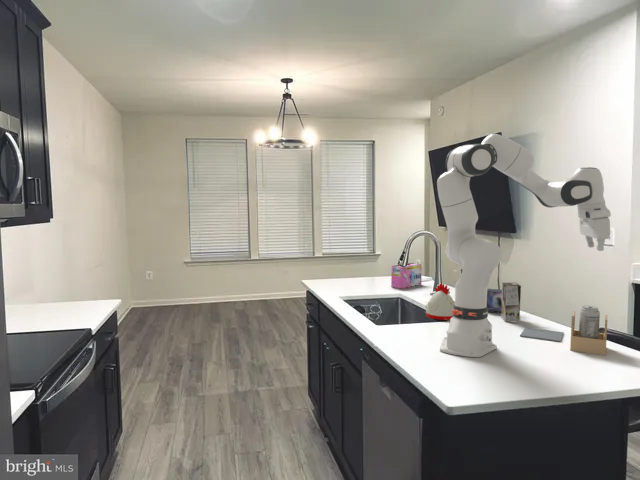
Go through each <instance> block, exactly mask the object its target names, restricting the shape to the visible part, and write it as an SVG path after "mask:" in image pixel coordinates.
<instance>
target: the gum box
mask: <svg viewBox="0 0 640 480" xmlns="http://www.w3.org/2000/svg"><path fill="white" fill-rule="evenodd" d="M406 264H407V266H406V267H400V266H399V265H400V264H396V265H391V283H390V287H391V288H392V287H395V288H394V289H399V288H401V289H402V288H403V289H407V288H406V287H408V288H411V286H412V287H416V286H415V285H417V286H421V285H422V263H420V264H417V263H414V262H411V263H410V262H409V263H406ZM420 284H421V285H420ZM401 289H400V290H401Z"/></svg>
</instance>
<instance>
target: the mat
mask: <svg viewBox="0 0 640 480" xmlns="http://www.w3.org/2000/svg"><path fill="white" fill-rule="evenodd" d="M563 336H564V332H563V331H557V330H556V331H555V330H550V329H541V328H534V327H533V328H532V327H524V329H523V330H522V332H521V333H520V335H519V337H521V338H527V339H528V338H529V339H534V340H542V341H543V340H544V341H550V342H556V343H557V342H558V343H561V342H562V339H563Z"/></svg>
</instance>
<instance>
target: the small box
mask: <svg viewBox="0 0 640 480" xmlns="http://www.w3.org/2000/svg"><path fill="white" fill-rule="evenodd" d="M501 306H502V289H497V288H488V289H487V307H488V313H493V314H501Z"/></svg>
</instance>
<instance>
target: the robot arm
mask: <svg viewBox="0 0 640 480" xmlns="http://www.w3.org/2000/svg"><path fill="white" fill-rule="evenodd" d="M533 165H534V156H533V154H532V152H531V151H530V150H529V149H527V148H526V147H525V146H523V145H522V144H520V143H518V142H516V141H514V140H513V139H510V138H508V137H507V136H504V135H501V134H499V133H490V134H489V135H487V136H486V137H485V138H484V139H483V140H482V141H481V143H474V144H473V143H472V144H468V143H467V144H464V145H461V146H456V147H455V148H453V149H452V150H450V151H449V152H448V154H447V155H446V158H445V167H444V172H443V173H442V174H440V175H439V177H438V178H437V181H436V186H437V195H438V199H439V203H440V206H441V210H442V214H443V217H444V220H445V221H444V222H445V224H446V231H447V243H446V246H445V256H446V258H447V259H448V260H449V261H450V262H452V263H453V264H455V265H456V266H457V265H458V266H461V267H462V271H461V274H460V277H459V279H458V280H457V281H456V282H455V285H454V301H455V304H454V307H453V311H452V315H453V317H452V318H451V319H450V320H449V321H450V322H449V326H448V329H447V331H446V336H445V337H443V339H442V342H441V345H440V348H439V351H440V352H443V353H445V354H449V355H455V356H462V357H469V358H481V357H482V358H483V357H484V356H485V355H487V354H489V353H491V352H493V351H494V350H496V349H497V348H498V347H497V346H498V345H497V344H496V343H494V342H493V325H492V323H491V322H490V321H489V319H488V316H489V312H488V307H487V289H489V288H488V286H489V283H490V279H491V276H492V273H493V271H494V270H495V268H497V267H498V266H499V264H500V263H501V260H502V258H503V257H502V255H503V254H502V253H503V252H502V250H501V248H500V247H501V246H499V245H498V244H497V243H495V242H493V241H492V240H490V239H486V238H480V237H479V238H478V237H477V234H476V224H477V223H478V222H479V221H478V220H479V215H478V212H477V208H476V204H475V201H474V198H473V195H472V191H471V189H470V188H471V187H470V181H471V177H479V176H482V175H484V174H486V173H487V172H488V171H490V169H492V168H494V169H496V170H497V171H499V172H500V173H503V174H504V175H505V176H508V177H510V178H511V179H512V180H514V181H515V182H516V183H518V184H519V185H520V186H522V187H523V188H525V189H526V190H528V191H529V192H530V193H532V194H533V195H534V196H535V198H536V199H537V200H538V202H539V203H540V204H541V205H542V206H544V207H546V208H557V207H560V208H561V207H575V206H577V215H578V218H579V219H578V221H579V231H580V234H581V235H583V236H585V237H584V238H585V240H586V243H587V247H588V248H594V247H595V242H594V240H593V239H596V243H597V245H596V250H597V251H599V252H602V251H603V252H604V250H605V247H604V246H605V240H609V239H610V237H611V222H610V221H611V220H610V217H611V216H612V214H611V213H612V212H611V211H610V209H608V207H607V206H606V200H605V197H604V193H605V187H604V186H605V185H604V181H603V179H604V178H603V175H602V172H601V170H600V169H599V168H597V167H593V166H592V167H589V166H588V167H580V168H576V169H575V171H574V172H573V173H572V174H571V175H570V176H568V177H566V178H565V179H562V180H547V179H544V178H543V177H541V176H540V175H539V174H537V173H536V172H534V171H533V170H532V168H533Z"/></svg>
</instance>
